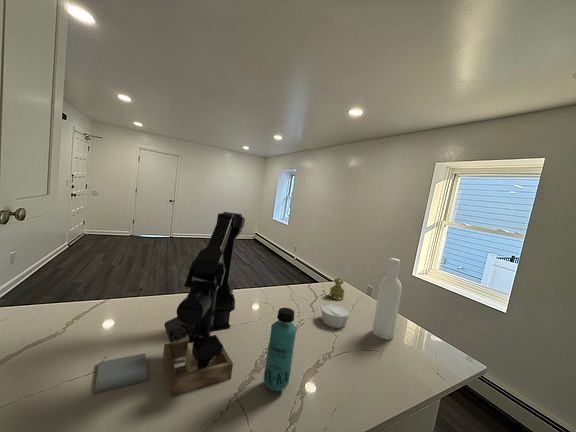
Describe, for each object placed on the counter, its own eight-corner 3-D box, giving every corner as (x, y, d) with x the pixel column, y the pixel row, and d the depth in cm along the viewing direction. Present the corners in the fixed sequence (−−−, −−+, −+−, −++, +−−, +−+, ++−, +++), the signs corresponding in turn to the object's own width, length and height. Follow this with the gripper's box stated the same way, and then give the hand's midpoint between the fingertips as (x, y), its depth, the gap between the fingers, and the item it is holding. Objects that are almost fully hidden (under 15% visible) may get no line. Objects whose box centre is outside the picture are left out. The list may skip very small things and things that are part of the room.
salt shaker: (334, 293, 135) (337, 275, 135) (346, 299, 130) (349, 280, 129) (326, 296, 130) (329, 277, 130) (338, 301, 125) (341, 282, 124)
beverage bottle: (262, 377, 65) (272, 303, 64) (287, 378, 66) (298, 305, 65) (261, 396, 59) (273, 314, 57) (289, 398, 59) (301, 317, 58)
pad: (144, 355, 67) (145, 353, 67) (147, 380, 59) (147, 377, 59) (98, 364, 62) (98, 362, 62) (94, 393, 53) (94, 390, 53)
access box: (214, 347, 75) (216, 334, 74) (231, 378, 63) (232, 363, 63) (162, 358, 67) (164, 344, 67) (170, 396, 55) (172, 379, 55)
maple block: (202, 361, 68) (204, 340, 68) (206, 371, 64) (209, 349, 64) (184, 365, 66) (187, 343, 65) (188, 376, 62) (191, 353, 62)
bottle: (395, 342, 93) (408, 263, 91) (373, 336, 94) (386, 259, 93) (391, 331, 101) (403, 258, 99) (371, 327, 102) (382, 255, 100)
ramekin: (316, 323, 99) (318, 310, 98) (323, 313, 109) (325, 301, 109) (345, 332, 95) (347, 319, 94) (349, 321, 105) (351, 309, 105)
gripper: (164, 294, 67) (157, 349, 68) (175, 329, 52) (167, 400, 53) (205, 290, 73) (199, 341, 74) (227, 320, 58) (219, 384, 59)
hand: (196, 363), depth 65 cm, fingers open, 8 cm apart
